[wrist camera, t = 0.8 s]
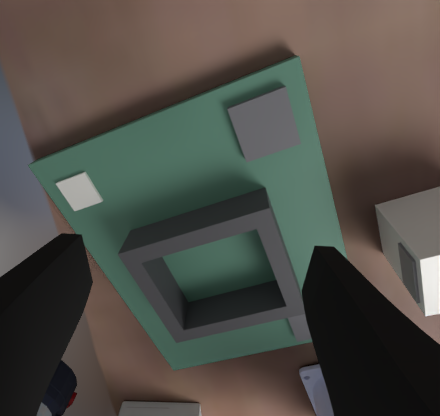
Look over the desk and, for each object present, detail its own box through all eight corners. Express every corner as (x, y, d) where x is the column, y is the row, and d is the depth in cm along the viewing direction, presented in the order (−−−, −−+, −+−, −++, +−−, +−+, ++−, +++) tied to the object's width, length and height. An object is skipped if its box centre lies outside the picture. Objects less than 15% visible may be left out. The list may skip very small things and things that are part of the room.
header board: (359, 320, 24) (377, 361, 21) (175, 359, 28) (168, 400, 25) (295, 55, 16) (310, 60, 13) (37, 159, 19) (-1, 183, 16)
